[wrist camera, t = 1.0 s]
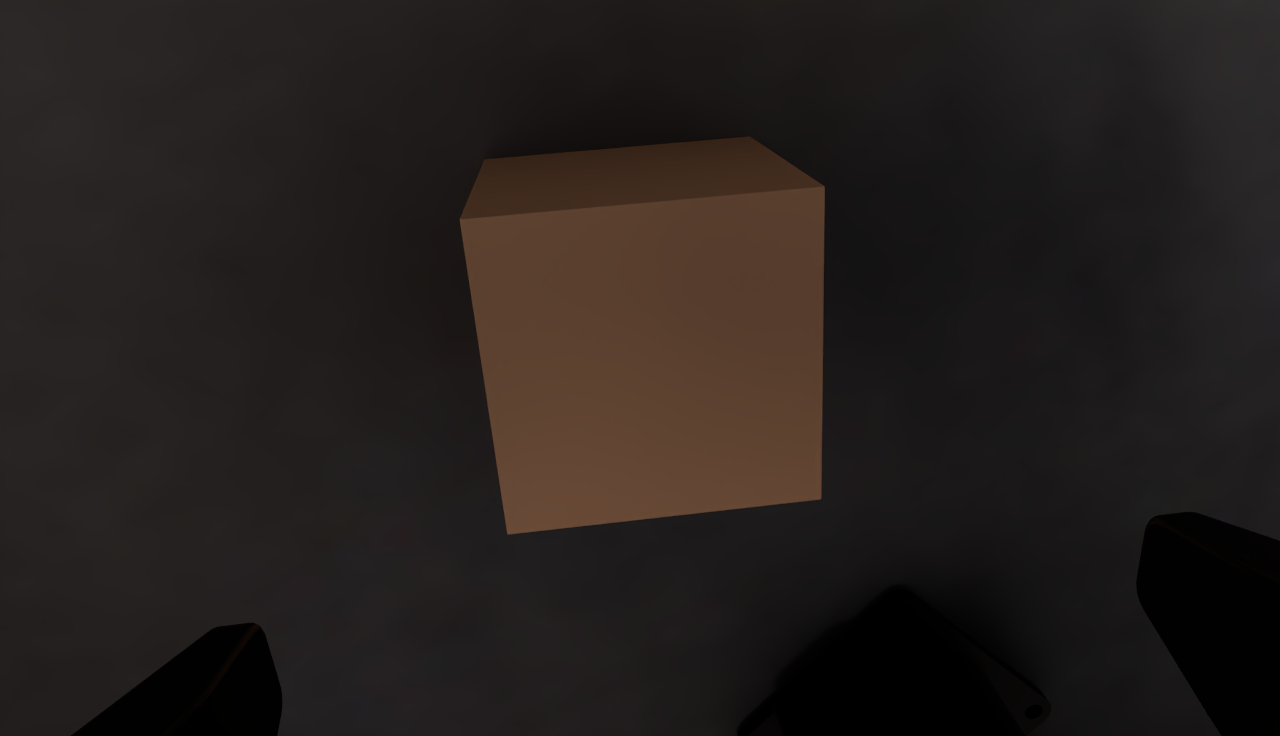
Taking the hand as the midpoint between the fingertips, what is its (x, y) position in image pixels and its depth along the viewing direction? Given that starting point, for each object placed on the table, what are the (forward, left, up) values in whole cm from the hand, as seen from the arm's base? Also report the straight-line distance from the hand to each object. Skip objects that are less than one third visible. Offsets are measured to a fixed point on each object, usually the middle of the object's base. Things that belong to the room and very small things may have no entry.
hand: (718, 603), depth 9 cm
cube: (0, 0, -11) cm, 11 cm away
